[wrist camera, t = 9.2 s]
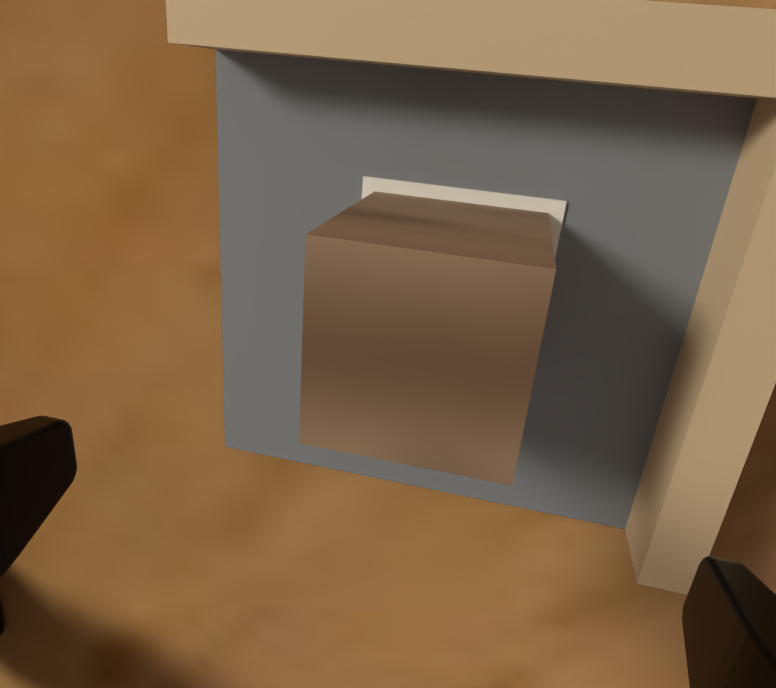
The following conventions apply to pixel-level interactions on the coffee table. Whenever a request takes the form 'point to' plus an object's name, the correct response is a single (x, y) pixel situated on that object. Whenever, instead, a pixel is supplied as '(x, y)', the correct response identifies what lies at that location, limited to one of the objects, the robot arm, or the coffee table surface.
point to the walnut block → (424, 332)
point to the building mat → (534, 193)
